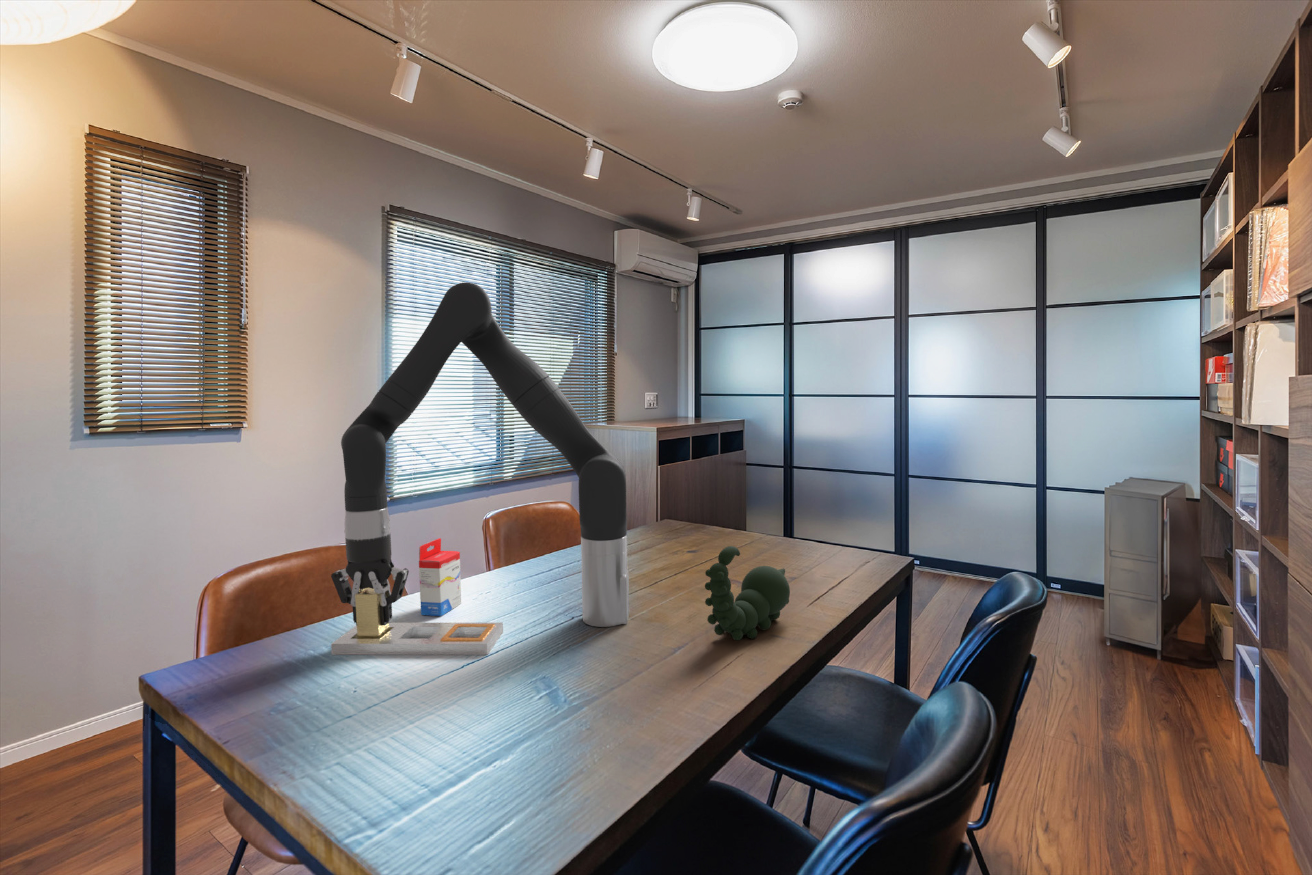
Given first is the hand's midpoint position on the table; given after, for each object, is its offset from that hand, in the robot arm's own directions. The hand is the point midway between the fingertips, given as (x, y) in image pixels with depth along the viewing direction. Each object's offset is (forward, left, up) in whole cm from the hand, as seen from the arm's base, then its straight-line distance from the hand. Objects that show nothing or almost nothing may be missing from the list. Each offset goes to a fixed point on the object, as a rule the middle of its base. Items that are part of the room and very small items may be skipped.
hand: (373, 623), depth 114 cm
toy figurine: (-71, -7, -4) cm, 71 cm away
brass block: (0, 0, -3) cm, 3 cm away
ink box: (-6, -18, -4) cm, 19 cm away
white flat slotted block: (-9, 0, -4) cm, 10 cm away
